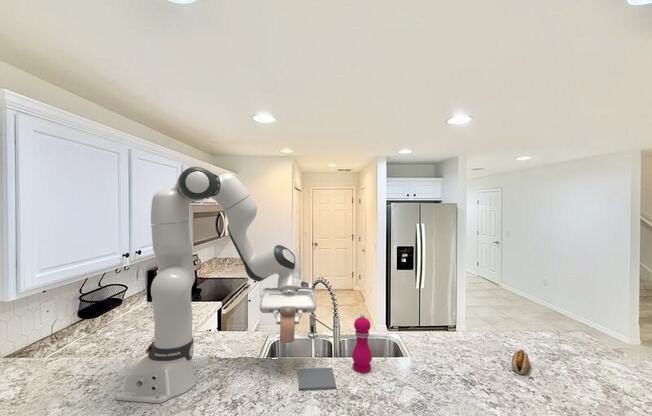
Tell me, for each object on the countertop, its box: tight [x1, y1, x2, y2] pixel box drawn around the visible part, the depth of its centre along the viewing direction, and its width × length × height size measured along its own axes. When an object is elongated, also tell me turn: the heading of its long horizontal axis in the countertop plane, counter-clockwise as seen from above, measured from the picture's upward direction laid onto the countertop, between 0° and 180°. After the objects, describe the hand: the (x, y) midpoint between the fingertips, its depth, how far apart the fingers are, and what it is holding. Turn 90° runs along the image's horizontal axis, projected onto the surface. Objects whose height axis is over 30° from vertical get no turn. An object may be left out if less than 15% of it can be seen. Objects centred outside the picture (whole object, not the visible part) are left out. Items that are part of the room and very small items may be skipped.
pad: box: [298, 367, 337, 392], centre depth 102 cm, size 12×12×1 cm
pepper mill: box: [351, 313, 373, 374], centre depth 110 cm, size 7×7×20 cm
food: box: [510, 349, 530, 375], centre depth 112 cm, size 14×6×5 cm, turn 144°
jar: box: [279, 306, 297, 344], centre depth 104 cm, size 5×5×11 cm
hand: (287, 323), depth 104 cm, fingers closed on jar, 5 cm apart
